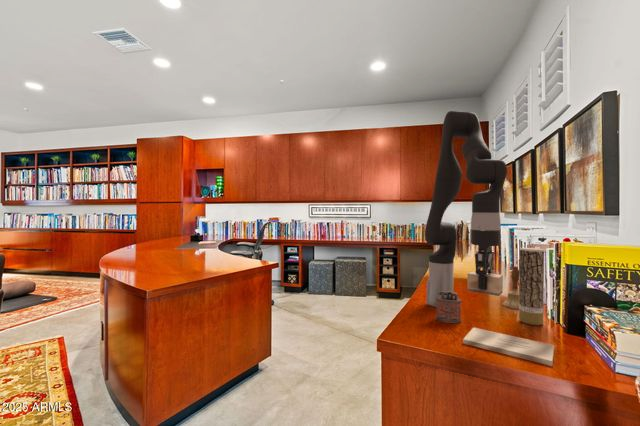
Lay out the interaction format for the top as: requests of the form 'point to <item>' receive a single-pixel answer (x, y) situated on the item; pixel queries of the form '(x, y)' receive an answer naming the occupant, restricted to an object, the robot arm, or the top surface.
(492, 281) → the beige rectangular block
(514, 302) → the hand bell
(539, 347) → the birch board
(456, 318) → the lighter
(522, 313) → the bark textured post
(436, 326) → the top surface
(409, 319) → the top surface
